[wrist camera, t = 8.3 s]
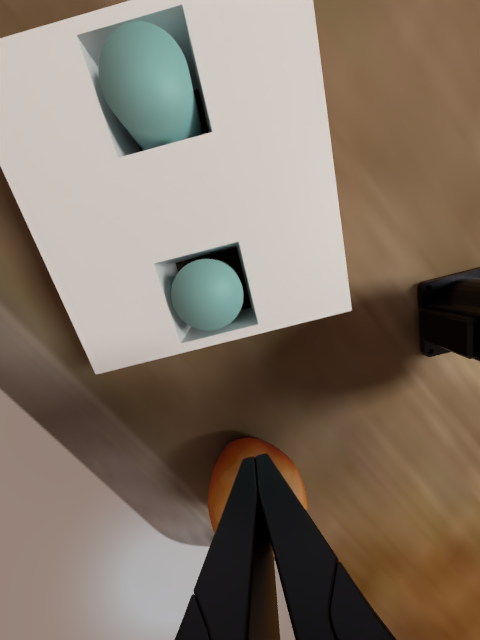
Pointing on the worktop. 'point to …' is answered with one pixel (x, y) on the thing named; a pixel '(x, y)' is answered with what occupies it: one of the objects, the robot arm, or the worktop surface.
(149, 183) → the socket board
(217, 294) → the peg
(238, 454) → the fruit
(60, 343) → the worktop surface
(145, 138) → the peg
